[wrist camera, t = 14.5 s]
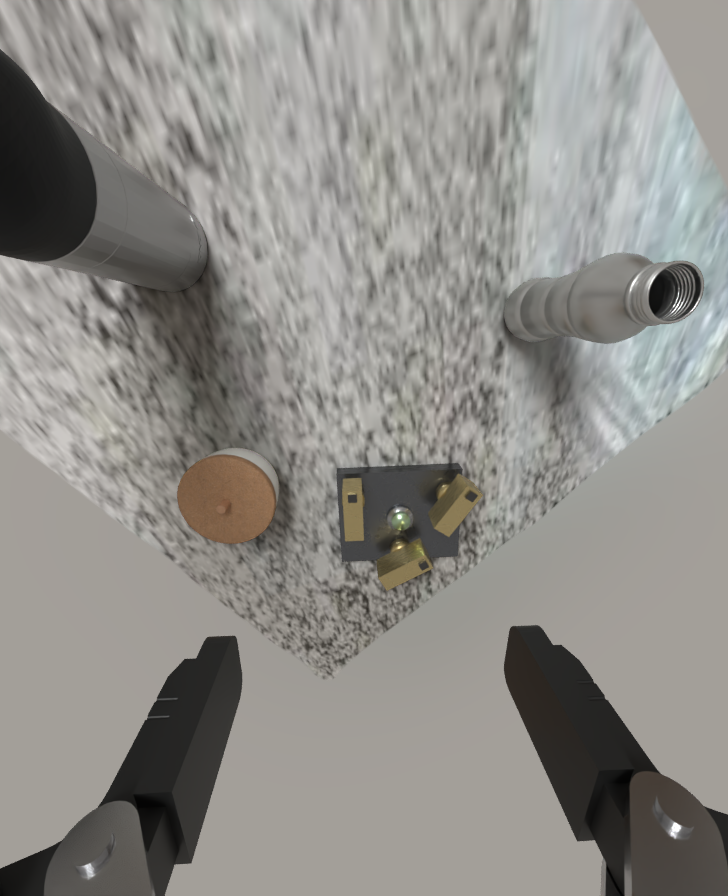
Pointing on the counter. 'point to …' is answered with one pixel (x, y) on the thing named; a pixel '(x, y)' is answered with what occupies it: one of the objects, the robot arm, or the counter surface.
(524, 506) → the counter surface
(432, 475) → the levelling plate
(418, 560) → the bar with square hole
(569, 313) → the plastic bottle
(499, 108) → the counter surface
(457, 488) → the knob
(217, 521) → the lidded jar
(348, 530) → the knob
